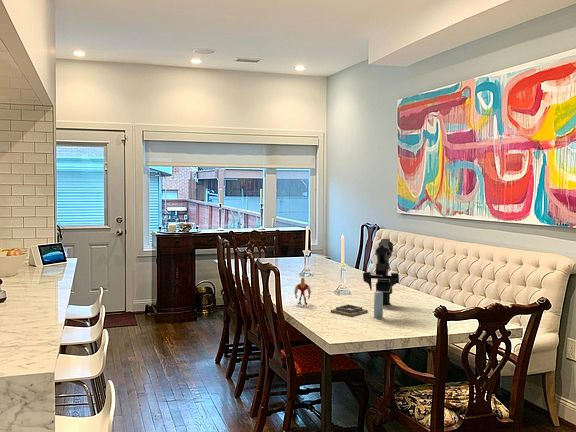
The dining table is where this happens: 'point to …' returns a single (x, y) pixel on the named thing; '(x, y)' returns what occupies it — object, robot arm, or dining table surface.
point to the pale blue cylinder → (378, 304)
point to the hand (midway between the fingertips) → (379, 290)
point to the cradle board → (349, 310)
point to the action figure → (302, 290)
